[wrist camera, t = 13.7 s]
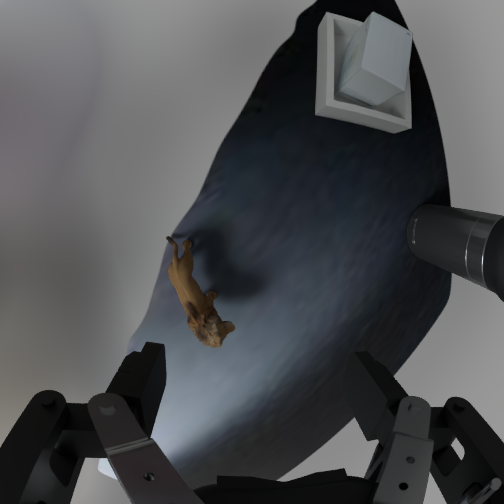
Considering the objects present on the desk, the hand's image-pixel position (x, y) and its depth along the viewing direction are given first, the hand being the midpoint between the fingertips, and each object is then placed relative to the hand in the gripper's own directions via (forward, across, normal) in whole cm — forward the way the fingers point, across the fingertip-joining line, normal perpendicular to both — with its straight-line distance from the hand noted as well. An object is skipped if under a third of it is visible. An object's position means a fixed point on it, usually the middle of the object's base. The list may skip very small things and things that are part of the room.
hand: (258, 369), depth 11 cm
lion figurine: (+29, +5, +6) cm, 30 cm away
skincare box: (+28, -15, -27) cm, 41 cm away
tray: (+28, -15, -27) cm, 42 cm away
